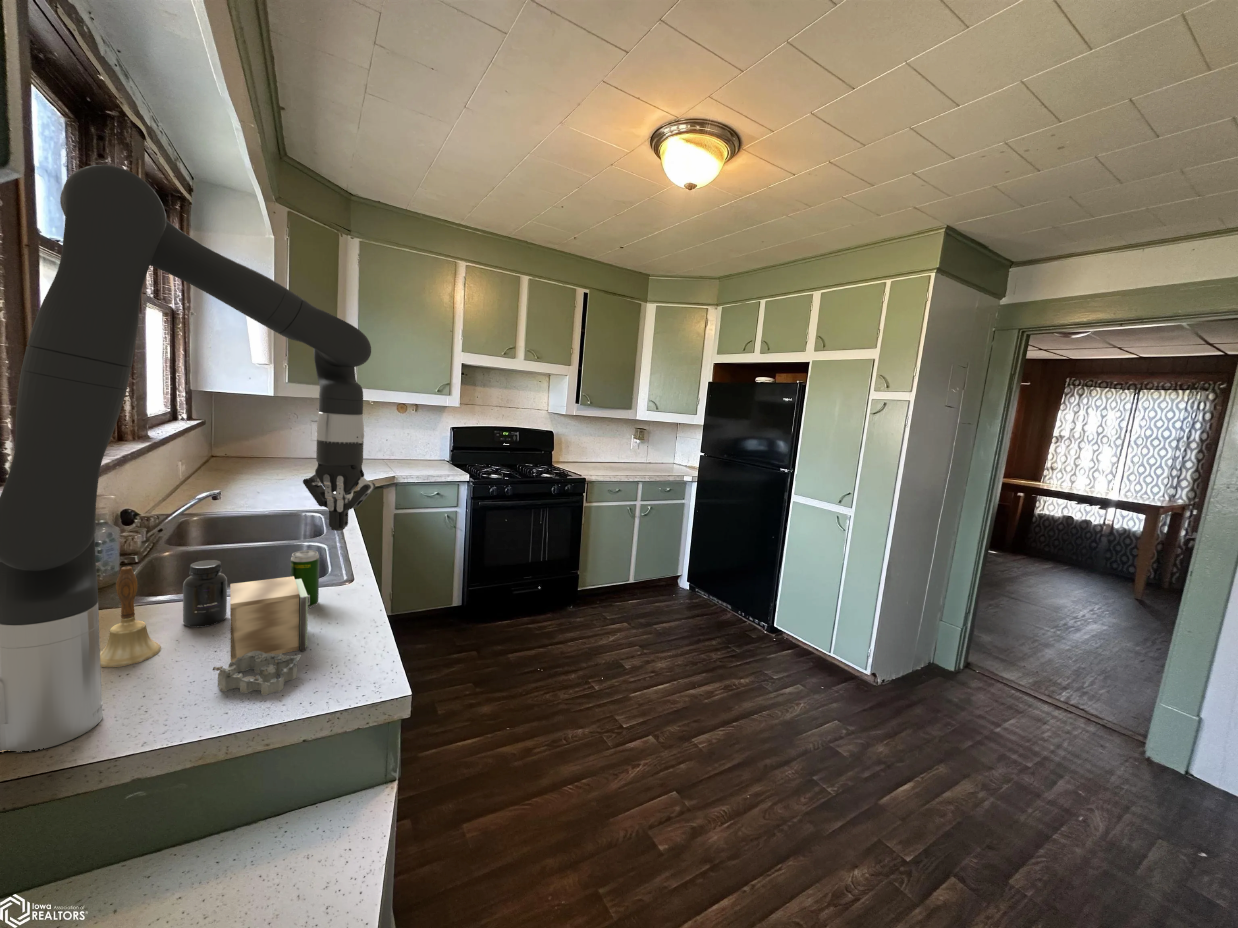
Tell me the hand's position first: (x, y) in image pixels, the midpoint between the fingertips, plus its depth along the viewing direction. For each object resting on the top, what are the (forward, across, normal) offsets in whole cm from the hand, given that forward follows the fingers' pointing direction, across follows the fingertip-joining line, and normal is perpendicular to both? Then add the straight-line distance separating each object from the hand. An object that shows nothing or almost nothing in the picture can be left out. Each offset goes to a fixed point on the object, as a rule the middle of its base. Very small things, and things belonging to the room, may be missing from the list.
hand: (338, 529), depth 92 cm
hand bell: (+23, -31, -10) cm, 40 cm away
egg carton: (+24, -5, -13) cm, 27 cm away
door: (+23, -8, +2) cm, 24 cm away
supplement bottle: (+23, -30, +4) cm, 38 cm away
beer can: (+23, -16, +15) cm, 32 cm away
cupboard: (+23, -12, -2) cm, 26 cm away
